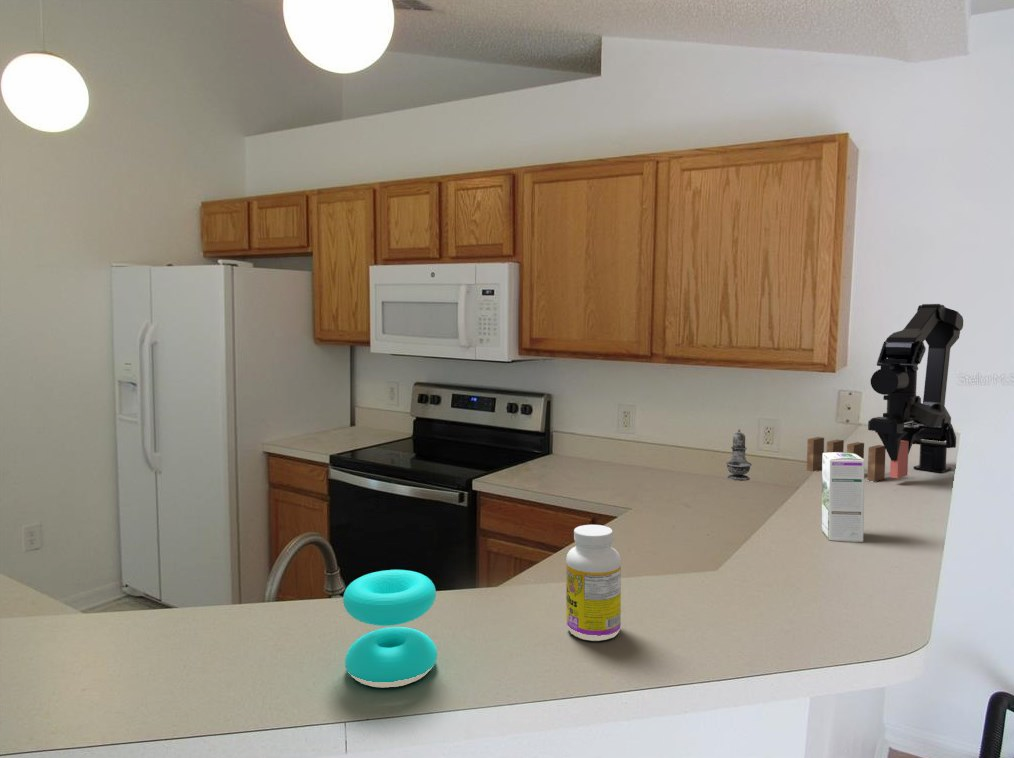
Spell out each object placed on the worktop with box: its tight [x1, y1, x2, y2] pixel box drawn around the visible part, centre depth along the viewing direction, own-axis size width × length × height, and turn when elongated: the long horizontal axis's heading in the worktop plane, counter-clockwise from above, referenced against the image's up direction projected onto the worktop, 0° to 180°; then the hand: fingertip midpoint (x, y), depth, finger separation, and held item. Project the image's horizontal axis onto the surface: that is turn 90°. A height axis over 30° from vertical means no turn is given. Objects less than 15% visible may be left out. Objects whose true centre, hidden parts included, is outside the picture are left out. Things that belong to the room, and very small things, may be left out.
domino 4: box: [867, 444, 887, 483], centre depth 163 cm, size 2×5×8 cm, turn 127°
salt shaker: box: [725, 428, 752, 482], centre depth 166 cm, size 6×6×12 cm
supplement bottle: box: [565, 524, 622, 636], centre depth 85 cm, size 7×7×13 cm
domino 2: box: [826, 439, 845, 453], centre depth 171 cm, size 2×5×8 cm, turn 127°
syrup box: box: [820, 451, 865, 543], centre depth 121 cm, size 6×6×14 cm
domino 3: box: [846, 441, 865, 460], centre depth 167 cm, size 2×5×8 cm, turn 127°
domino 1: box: [806, 436, 825, 472], centre depth 175 cm, size 2×5×8 cm, turn 127°
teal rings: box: [342, 569, 438, 682], centre depth 76 cm, size 10×10×10 cm
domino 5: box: [889, 440, 909, 479], centre depth 159 cm, size 2×5×8 cm, turn 127°
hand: (899, 459), depth 159 cm, fingers closed on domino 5, 5 cm apart
